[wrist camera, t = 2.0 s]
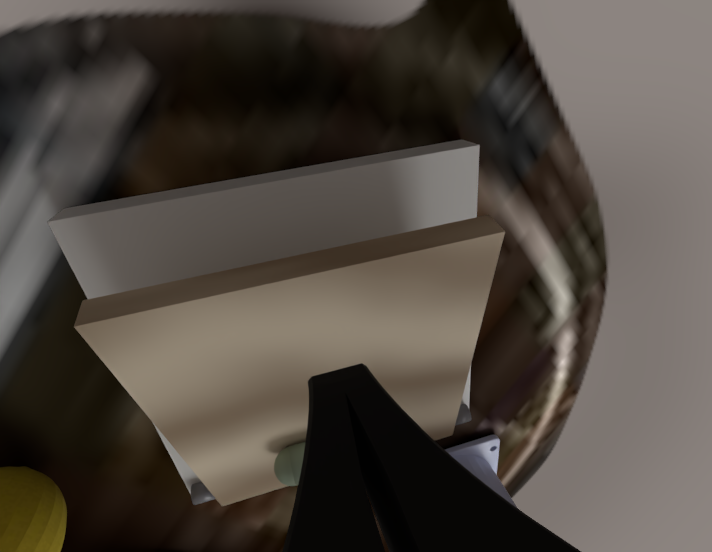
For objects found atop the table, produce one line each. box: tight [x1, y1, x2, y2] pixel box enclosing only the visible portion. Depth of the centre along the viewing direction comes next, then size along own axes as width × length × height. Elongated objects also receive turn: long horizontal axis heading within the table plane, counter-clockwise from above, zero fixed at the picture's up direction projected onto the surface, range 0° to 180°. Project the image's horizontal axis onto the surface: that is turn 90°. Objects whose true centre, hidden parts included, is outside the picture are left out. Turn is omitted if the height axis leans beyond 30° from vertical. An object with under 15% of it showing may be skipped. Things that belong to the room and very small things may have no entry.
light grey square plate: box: [47, 139, 480, 505], centre depth 19 cm, size 16×16×2 cm
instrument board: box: [74, 215, 505, 506], centre depth 16 cm, size 14×13×3 cm
